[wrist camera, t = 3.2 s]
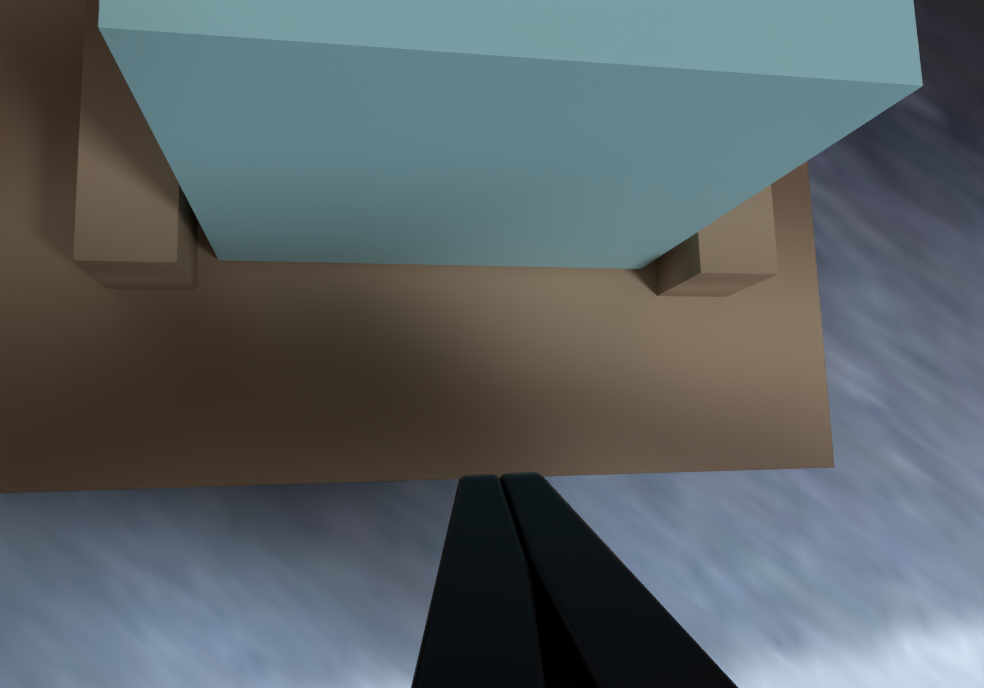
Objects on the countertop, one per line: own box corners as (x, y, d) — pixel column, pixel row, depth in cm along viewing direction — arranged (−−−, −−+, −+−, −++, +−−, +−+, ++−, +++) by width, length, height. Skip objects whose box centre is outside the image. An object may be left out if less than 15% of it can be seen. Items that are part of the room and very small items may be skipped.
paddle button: (640, 268, 16) (922, 85, 9) (218, 260, 15) (98, 27, 7) (632, 125, 17) (893, -173, 9) (222, 102, 15) (112, -282, 7)
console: (794, 467, 18) (1440, 461, 8) (-3, 491, 15) (-778, 537, 5) (747, -109, 20) (1204, -743, 10) (38, -192, 17) (-427, -1259, 7)
